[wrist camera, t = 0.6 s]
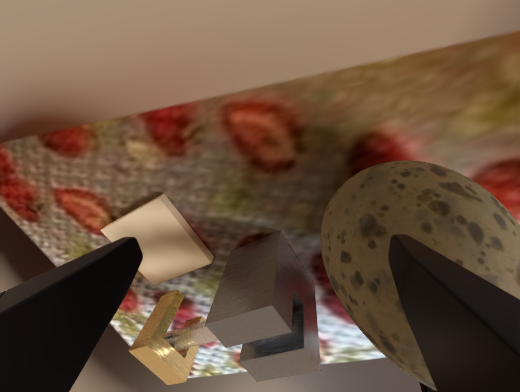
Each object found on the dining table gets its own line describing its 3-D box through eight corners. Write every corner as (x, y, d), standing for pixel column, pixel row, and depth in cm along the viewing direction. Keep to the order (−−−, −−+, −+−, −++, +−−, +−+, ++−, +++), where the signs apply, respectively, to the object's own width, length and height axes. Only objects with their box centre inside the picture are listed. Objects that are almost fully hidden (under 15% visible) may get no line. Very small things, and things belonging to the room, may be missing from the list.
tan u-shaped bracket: (207, 322, 30) (186, 381, 24) (191, 326, 31) (167, 385, 25) (177, 289, 28) (147, 345, 22) (162, 295, 29) (128, 350, 23)
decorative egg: (341, 261, 26) (388, 464, 12) (295, 175, 22) (291, 331, 9) (457, 224, 22) (698, 456, 9) (424, 115, 18) (748, 225, 5)
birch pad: (214, 257, 28) (211, 263, 27) (157, 279, 31) (153, 285, 30) (163, 193, 25) (158, 197, 24) (106, 225, 28) (100, 230, 27)
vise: (314, 284, 28) (320, 370, 20) (186, 322, 34) (152, 399, 26) (280, 230, 25) (271, 305, 17) (149, 283, 31) (98, 355, 23)
